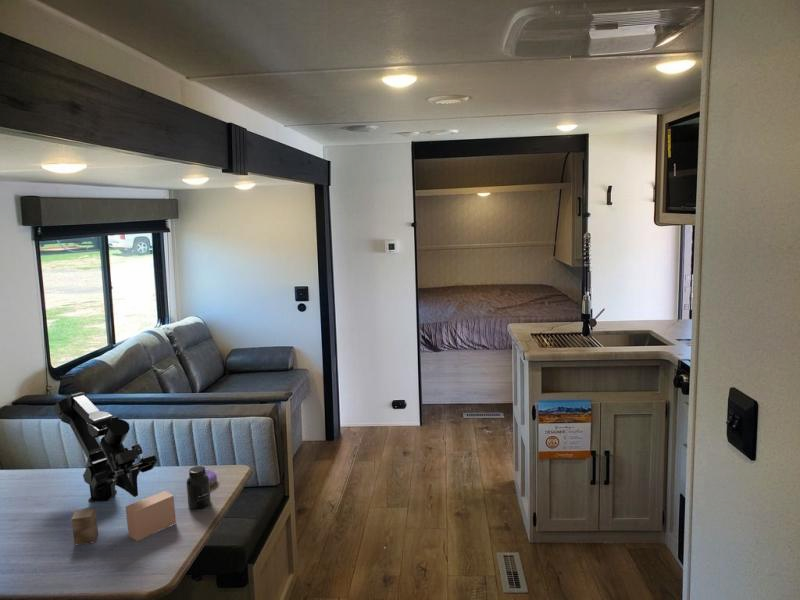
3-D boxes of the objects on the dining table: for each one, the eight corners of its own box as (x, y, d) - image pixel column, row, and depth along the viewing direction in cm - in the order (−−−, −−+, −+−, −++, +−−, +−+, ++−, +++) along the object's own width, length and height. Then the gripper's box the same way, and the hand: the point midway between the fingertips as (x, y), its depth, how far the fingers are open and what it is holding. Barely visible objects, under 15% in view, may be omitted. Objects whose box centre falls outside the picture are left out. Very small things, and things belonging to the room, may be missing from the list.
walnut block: (74, 545, 173) (71, 519, 172) (79, 536, 178) (76, 510, 177) (93, 542, 174) (90, 516, 173) (98, 533, 179) (95, 507, 178)
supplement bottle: (204, 511, 190) (201, 474, 188) (184, 509, 192) (180, 473, 189) (215, 500, 197) (212, 465, 195) (195, 498, 198) (192, 463, 196)
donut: (187, 479, 211) (188, 466, 211) (215, 480, 214) (217, 467, 214) (186, 492, 202) (188, 478, 201) (215, 493, 205) (217, 479, 204)
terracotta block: (128, 535, 178) (125, 506, 176) (167, 518, 187) (164, 490, 185) (137, 541, 175) (133, 512, 173) (176, 523, 184) (173, 495, 182)
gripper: (89, 448, 178) (111, 495, 173) (151, 429, 192) (173, 471, 186) (81, 467, 184) (102, 513, 179) (141, 447, 198) (162, 489, 193)
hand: (136, 496), depth 184 cm, fingers closed
